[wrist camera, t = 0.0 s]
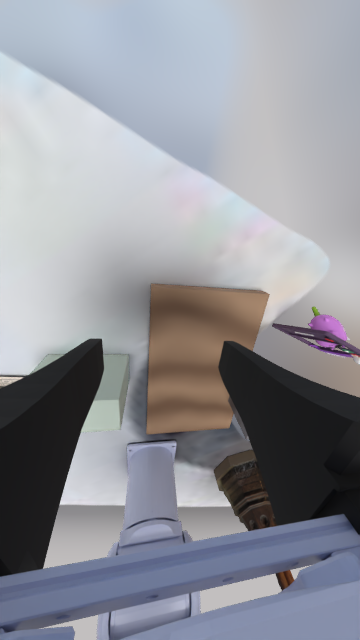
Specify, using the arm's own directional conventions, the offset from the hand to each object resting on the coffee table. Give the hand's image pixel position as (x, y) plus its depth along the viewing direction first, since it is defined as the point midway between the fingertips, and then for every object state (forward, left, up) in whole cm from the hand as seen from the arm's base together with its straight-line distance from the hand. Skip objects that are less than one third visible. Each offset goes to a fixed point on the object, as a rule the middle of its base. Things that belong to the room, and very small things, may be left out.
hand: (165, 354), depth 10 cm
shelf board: (-9, -6, -10) cm, 15 cm away
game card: (-2, -20, -10) cm, 22 cm away
